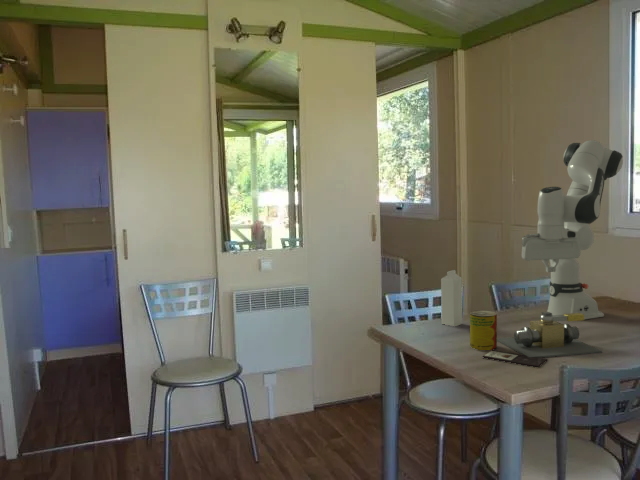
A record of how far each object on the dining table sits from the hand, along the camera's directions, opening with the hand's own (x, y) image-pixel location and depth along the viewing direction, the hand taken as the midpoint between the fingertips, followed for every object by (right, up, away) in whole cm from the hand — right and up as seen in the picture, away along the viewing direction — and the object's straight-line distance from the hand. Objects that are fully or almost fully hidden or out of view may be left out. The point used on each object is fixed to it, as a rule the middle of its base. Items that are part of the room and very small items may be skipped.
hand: (550, 271), depth 206 cm
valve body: (-3, -26, -5) cm, 26 cm away
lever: (+2, -17, -5) cm, 18 cm away
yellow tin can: (-25, -26, -4) cm, 36 cm away
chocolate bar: (-19, -28, -18) cm, 38 cm away
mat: (-3, -26, -5) cm, 26 cm away
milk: (-29, -23, +29) cm, 47 cm away
